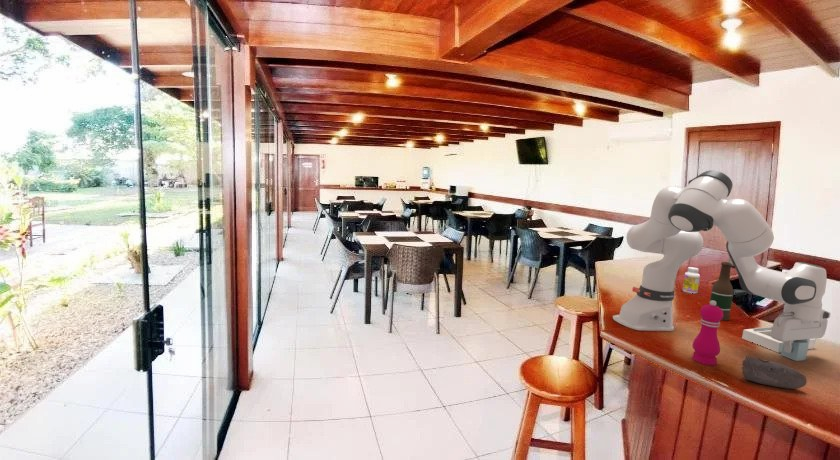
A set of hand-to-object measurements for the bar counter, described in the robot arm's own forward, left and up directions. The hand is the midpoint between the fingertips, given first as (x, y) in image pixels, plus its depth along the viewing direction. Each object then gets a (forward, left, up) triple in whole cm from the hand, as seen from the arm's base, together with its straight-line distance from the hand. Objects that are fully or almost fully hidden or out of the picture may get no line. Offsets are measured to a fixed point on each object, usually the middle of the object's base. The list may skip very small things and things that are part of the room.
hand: (794, 351), depth 136 cm
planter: (+135, +116, -2) cm, 178 cm away
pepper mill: (-34, +4, -2) cm, 34 cm away
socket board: (+8, +10, -2) cm, 13 cm away
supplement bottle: (+37, +70, -2) cm, 79 cm away
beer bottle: (+13, +36, -2) cm, 38 cm away
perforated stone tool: (-29, -12, -2) cm, 31 cm away
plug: (0, 0, -2) cm, 2 cm away
